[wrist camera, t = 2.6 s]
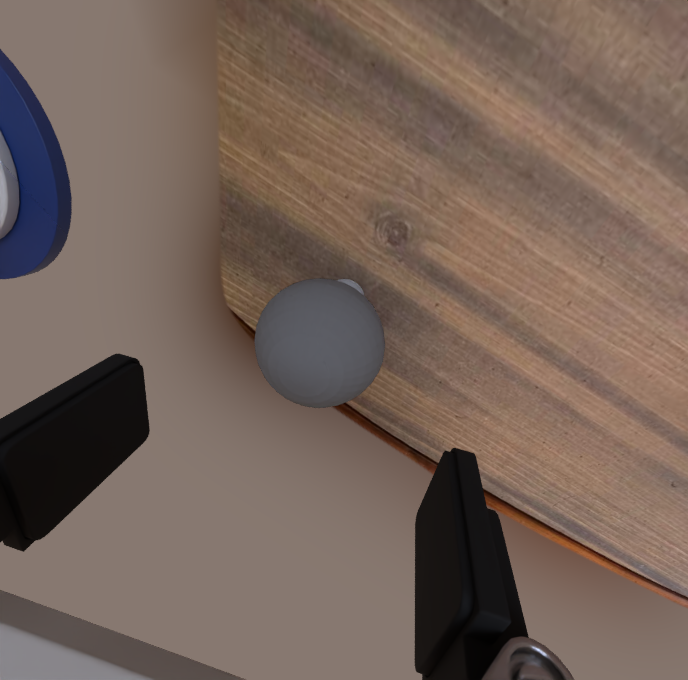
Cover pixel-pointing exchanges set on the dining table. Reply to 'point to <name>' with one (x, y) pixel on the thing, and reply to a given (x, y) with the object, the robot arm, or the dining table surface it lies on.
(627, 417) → the dining table surface
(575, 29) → the dining table surface
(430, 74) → the dining table surface
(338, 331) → the light bulb
